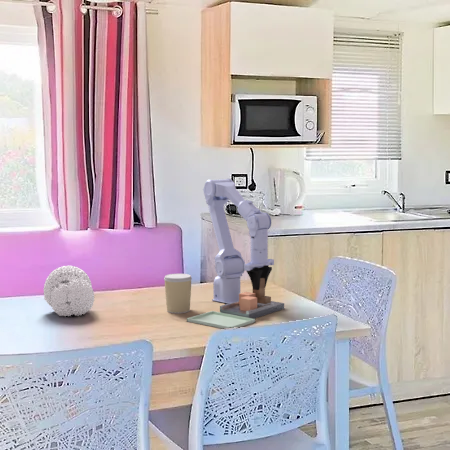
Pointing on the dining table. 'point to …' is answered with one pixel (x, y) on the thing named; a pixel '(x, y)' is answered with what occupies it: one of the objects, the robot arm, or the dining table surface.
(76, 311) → the cauliflower
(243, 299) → the block
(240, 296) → the block
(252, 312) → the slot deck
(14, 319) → the dining table surface
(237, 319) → the tray
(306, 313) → the dining table surface
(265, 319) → the dining table surface
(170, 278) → the coffee cup
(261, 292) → the tan stepped block
